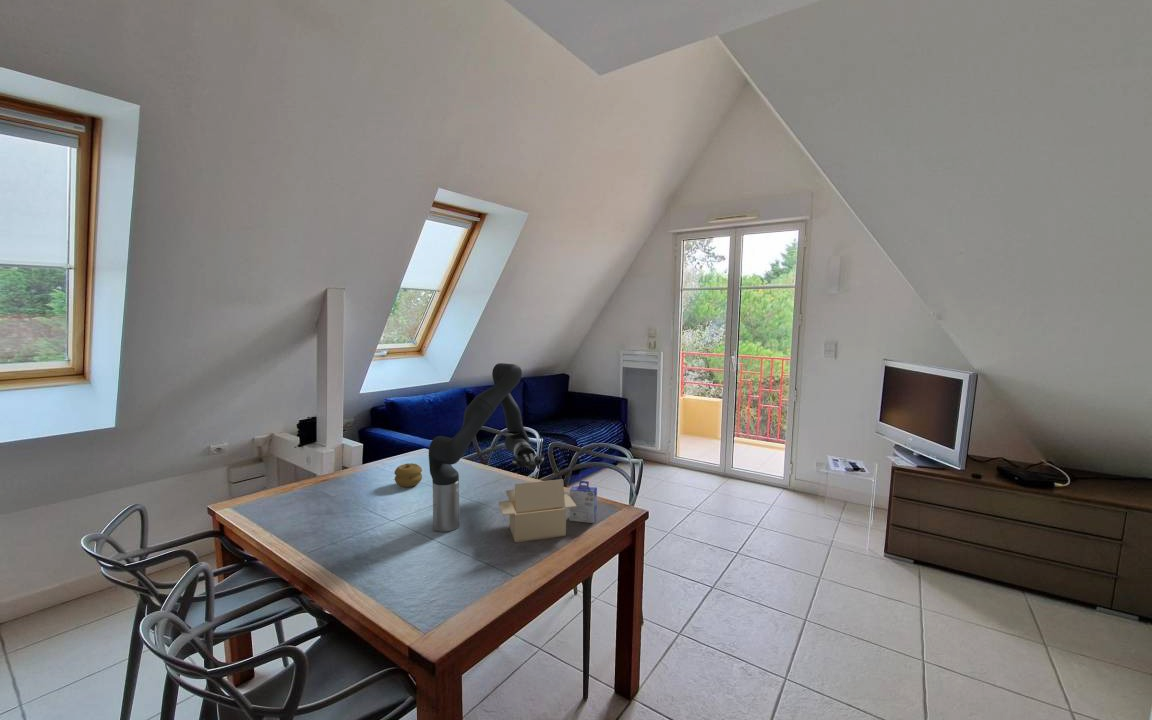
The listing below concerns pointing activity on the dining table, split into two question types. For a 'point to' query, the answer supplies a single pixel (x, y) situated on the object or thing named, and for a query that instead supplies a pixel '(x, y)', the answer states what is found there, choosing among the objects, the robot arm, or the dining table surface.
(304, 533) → the dining table surface
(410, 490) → the dining table surface
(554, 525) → the carton
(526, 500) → the far flap
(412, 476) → the stacked bagel
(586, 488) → the ink cartridge box
